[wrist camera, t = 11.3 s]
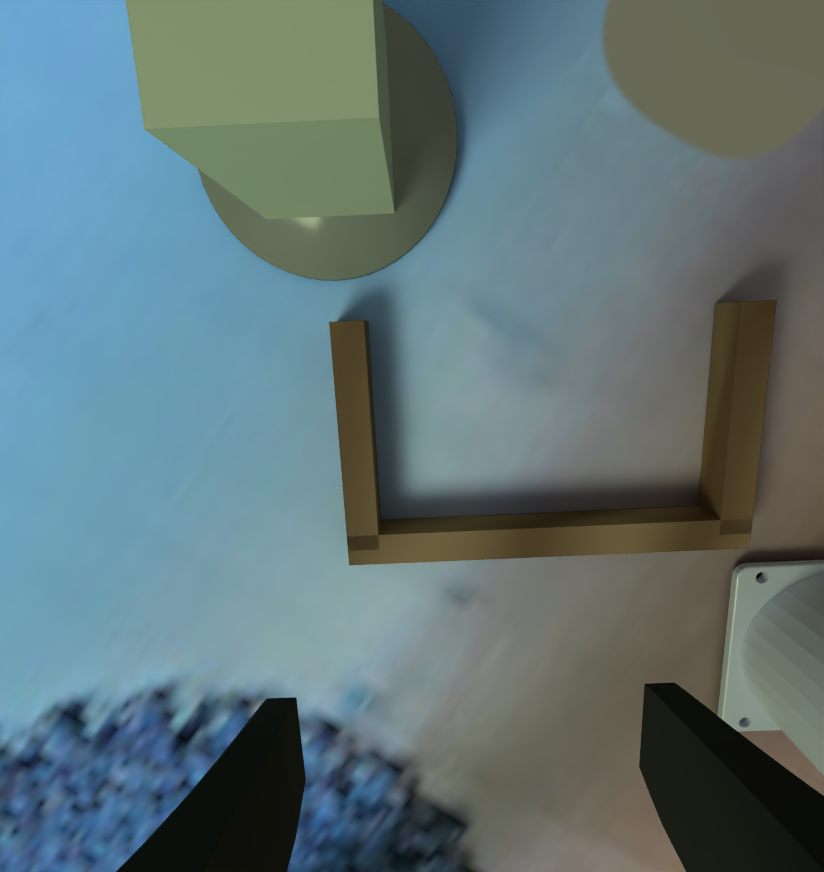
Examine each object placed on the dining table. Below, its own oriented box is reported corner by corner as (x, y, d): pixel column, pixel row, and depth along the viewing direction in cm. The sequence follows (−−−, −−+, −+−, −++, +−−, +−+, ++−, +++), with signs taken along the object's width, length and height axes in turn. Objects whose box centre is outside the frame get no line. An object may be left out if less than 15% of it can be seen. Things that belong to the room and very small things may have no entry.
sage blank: (387, 49, 16) (361, -214, 8) (394, 213, 17) (378, 117, 9) (250, 56, 16) (97, -199, 8) (266, 219, 17) (144, 128, 9)
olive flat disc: (452, -12, 16) (453, -23, 16) (459, 274, 18) (461, 273, 18) (180, 4, 16) (173, -7, 16) (217, 286, 18) (212, 285, 18)
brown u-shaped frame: (747, 302, 18) (776, 299, 17) (725, 532, 20) (749, 548, 19) (335, 322, 18) (329, 321, 17) (353, 548, 20) (349, 565, 19)
